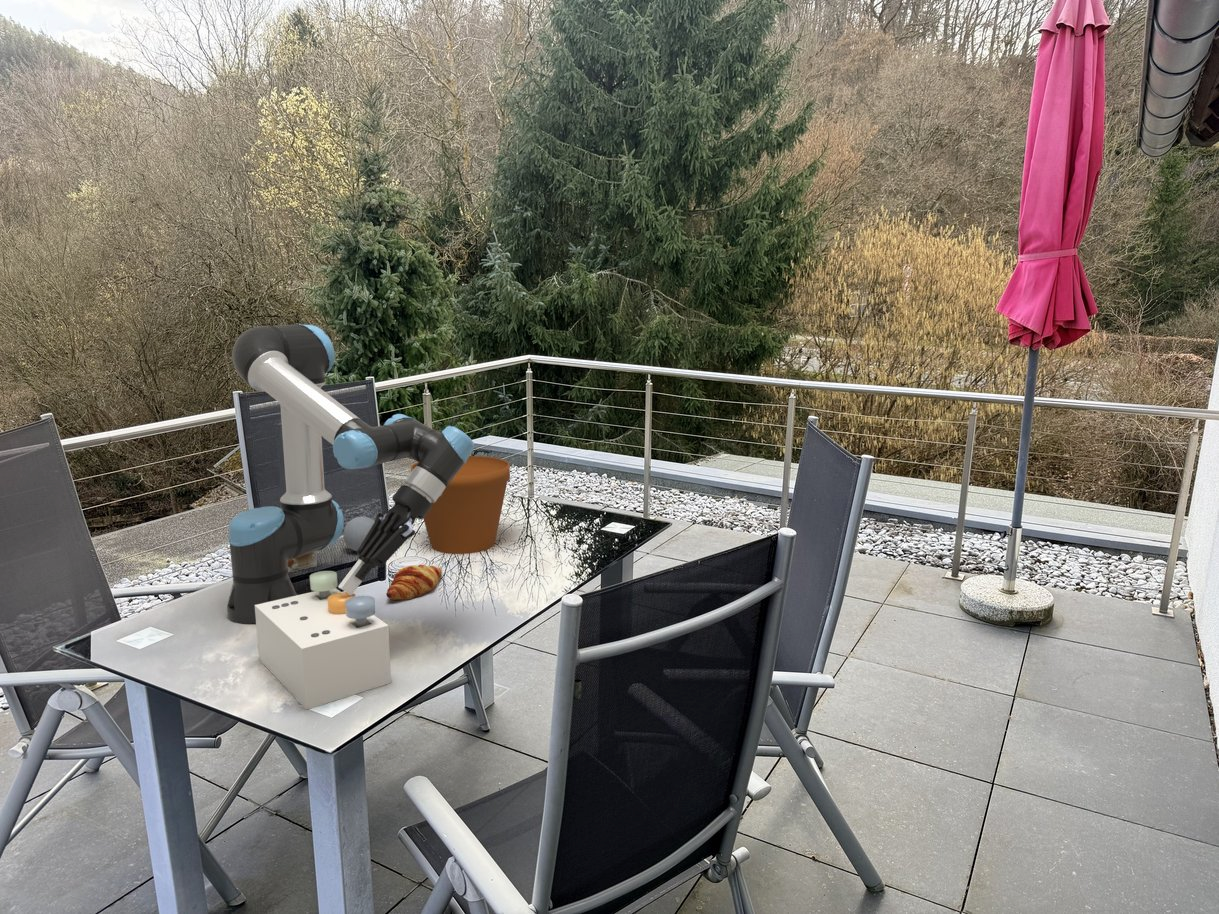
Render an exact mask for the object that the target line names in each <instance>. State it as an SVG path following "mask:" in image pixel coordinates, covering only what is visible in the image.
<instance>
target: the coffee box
mask: <svg viewBox="0 0 1219 914" xmlns="http://www.w3.org/2000/svg"><path fill="white" fill-rule="evenodd" d="M287 565H288V572H292V573H294V572H293V571H296V570H297V571H296V572H299V571H298V570H300V571H302V569H304V570H307V569H311V568H315V567H317V566H318V563H317V551H314V552H311V553H308V554H305V555H302V556H299V557H296V558H292V559H289V560H287ZM310 567H311V568H310Z"/></svg>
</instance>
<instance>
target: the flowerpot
mask: <svg viewBox="0 0 1219 914" xmlns="http://www.w3.org/2000/svg"><path fill="white" fill-rule="evenodd" d="M418 463H419V462H417V461H416V462H415V463H413V464H412V465H410V473H411V472H412V471H413V469H414V468H415V467H416V466H417V465H418ZM510 466H511V464H510V462H509V461H507V460H505V459H501V458H497V457H494V456H493V457H492V456H482V455H481V456H479V455H470V456H469V458H468V459H467V461H466V463H465V464H464V465H463V466H462V467H461V469H460V470H459V471H458V472H457V474H456V475H455V476H454V477H453V479H452V480H451V481H450V483H449V484H448V486H447V487H446V488H445V489H444V491H443V492H442V495H441V496H439V498H438V499H437V500H436V502H435V503H432V502H431V504H432V507H431V509H430V510H429V512H428V513H427V514H426V516H425V517H424V518H423V521H424V526H425V529H426V534H427V537H428V540H429V543H430V548H431V549H432V550H434V551H436V552H439V553H443V554H448V555H449V554H450V555H451V554H452V555H467V554H475V553H479V552H480V553H481V552H483V551H488V550H489V549H491V548H493V547H494V546H495V544H496V539H497V534H498V529H499V525H500V519H501V514H502V510H503V505H504V500H505V494H506V489H507V486H508V485H507V484H508V481H509V480H510V479H511V471H510V470H511V467H510Z"/></svg>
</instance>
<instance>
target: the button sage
mask: <svg viewBox="0 0 1219 914" xmlns="http://www.w3.org/2000/svg"><path fill="white" fill-rule="evenodd" d="M309 585H310V586H309V587H310V588H309V589H310V590H311V591H312V592H314V591H319V596H320V600H323V599H327V598H328V597H329V596H330V590H332V589H335V588H336V589H337V587H338V586H339V584H338V573H337V572H336V571H334V570H320V571H317V572H313V573H311V574H310V575H309Z"/></svg>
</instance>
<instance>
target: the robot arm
mask: <svg viewBox="0 0 1219 914" xmlns="http://www.w3.org/2000/svg"><path fill="white" fill-rule="evenodd" d="M231 353H232V354H231V358H232V359H231V360H232V364H233V367H234V369H235V371H236V372H237V375H238V376H239V377H240V378H241V379H242V380H243V381H244V382H245V383H246V384H247V385H249V386H250V387H251V388H252V389H253V390H255V391H257V392H265V393H266V394H268V395H269V396H270V397H272V398H273V399H274V400H276V401H277V402H278V403H279V406H280V420H281V433H282V434H281V435H282V448H283V460H284V461H283V462H284V478H285V479H284V480H285V490H286V492H285V493H284V494H283V495H282V496H281V497H280V498H279V506H280V507H279V506H274V505H271V506H270V505H269V506H268V505H267V506H261V507H253V508H251V509H247V510H244V511H242V512H239V513H238V514H236V515H235V516H234V517H232V518H231V519H230V522H229V524H228V538H227V539H228V543H229V551H230V562H231V563H230V564H231V572H232V586H231V590H230V594H229V596H228V601H227V605H226V611H227V613H226V614H227V617H228V620H230V621H232V622H235V623H238V624H240V623H241V624H256V616H255V605H257V604H262V603H266V602H270V601H275V600H279V599H283V598H288V597H292V596H297V595H298V593H297V592H296V590H295V587H294V585H293V582H292V581H291V579H290V576H289V573H288V565H287V560H289V559H292V558H296V557H299V556H302V555H305V554H308V553H311V552H314V551H316V552H319V551H322V550H324V549H326V548H327V547H328V548H329V547H331V546H332V545H334V544H336V542H337V541H338V540H339V539H340V538H341V536H342V535H343V534H342V533H343V532H344V525H345V520H344V513H343V511H342V510H341V509H340V508H341V507H340V505H339V504H338V503H337V502H336V501H335V500H333V497H332V496H333V495H332V494H331V493H330V492H329V491H327V490H326V488H325V476H324V475H325V474H324V472H325V470H324V458H323V457H324V456H323V439H325V440H326V441H327V442H328V443H329V444H331V445H332V452H333V456H334V458H335V459H336V460H337V463H338V464H339V466H341V467H342V468H343V469H346V470H357V469H365V468H370V467H372V466H373V467H374V466H376V465H381V464H385V463H388V462H393V461H398V460H401V459H406V458H410V459H412V460H414V461H415V462H416V463H417V462H419V463H418V465H417V466H416V467H415V468H414V469H413V471H412V472H411V471H410V472H409V474H408V476H407V477H406V478H405V480H404V484H401V486H399V488H398V489H397V491H396V492H395V493H394V494H393V496H392V501H393V502H394V505H393V506H392V507H391V508H389V509H388V510H387V513H385V514H383V513H382V512H378V514H377V515H376V517H375V520H374V521H375V522H374V524H373V526H372V527H371V529H370V531H369V532H368V534H367V536H366V537H365V539H364V541H363V542H362V544H361V546H360V547H359V549H358V550H357V551H356V554H357V555H358V557H357V558H358V559H357V560H356V563H355V564H354V565H353V566H352V567H351V569H350V570H349V572H348V573H347V574H346V576H344V578H343V579H342V581H341V582H340V583H339V584H338V586H337V587H338V588H339V589H340V590H342V591H343V592H346V593H348V594H349V595H352V594H355V591H356V590H357V589H358V588H359V586H360V585H361V583H362V582H363V581H364V580H365V578H366V577H367V576H368V574H369V573H370V571H372V569H375V568H376V567H377V568H382V567H383V566H384V565H385V564H386V563H387V561H388V560H390V558H391V557H392V556H393V555H394V554H396V552H397V551H398V550H399V549H400V548H401V547H402V545H404V544H405V542H407V541H408V540H409V539H410V538H411V537H413V536H414V535H415V534H416V531H415V530H414V529H413V528H412V526H413V525H414V524H415V521H416V519H419V520H424V517H425V516H426V514H427V513H428V512H429V510H430V509H431V507H432V504H431V502H432V503H435V502H436V500H437V499H438V498H439V496H441V495H442V492H443V491H444V489H445V488H446V487H447V486H448V484H449V483H450V481H451V480H452V479H453V477H454V476H455V475H456V474H457V472H458V471H459V470H460V469H461V467H462V466H463V465H464V464H465V463H466V461H467V459H468V458H469V456H472V455H471V454H473V451H474V449H475V444H474V441H473V440H472V438H470V436H468V435H467V433H465V432H464V431H463V430H461V429H459V428H457V427H456V426H452V425H448V426H446V427H445V428H444V429H443V430H441V432H440V431H438V430H435V429H433V428H431V427H430V426H427V424H424V423H422V422H420V421H418V420H417V419H416V418H413V417H411V416H407V415H405V414H402V413H396V414H393V415H392V416H391V417H390V418H388V419H387V420H386V421H385V422H384V423H383V425H377V426H371V425H369V424H368V423H366V422H365V421H363V419H361V418H360V417H358V416H357V415H356V414H354V413H353V412H352V411H350V410H349V409H348V408H347V407H345V406H344V405H343V404H341V403H340V402H339V401H338V400H336V399H335V398H334V397H332V396H331V395H330V394H328V393H327V392H326V391H325V390H323V389H322V387H323V386H324V385H325V384H326V374H327V373H329V372H330V371H331V370H332V368H333V366H334V364H335V359H336V357H335V355H336V354H335V349H334V345H333V343H332V341H331V339H330V337H329V335H328V334H326V332H325V331H324V330H323V329H321V328H320V327H319V326H316V325H312V324H301V323H298V324H283V325H257V326H253V327H250V328H248V329H247V330H244V331H243V332H242V333H241V334H240V335H239V336H238V338H237V339H236V340H235V341H234V345H233V348H232V352H231ZM322 437H323V439H322Z"/></svg>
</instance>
